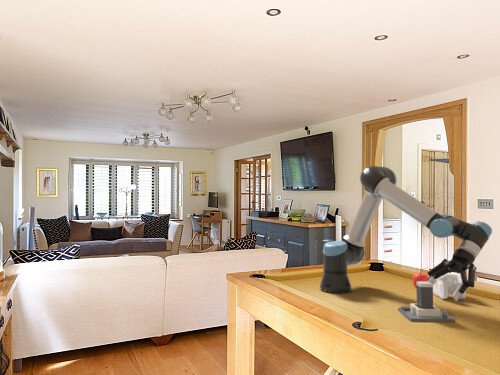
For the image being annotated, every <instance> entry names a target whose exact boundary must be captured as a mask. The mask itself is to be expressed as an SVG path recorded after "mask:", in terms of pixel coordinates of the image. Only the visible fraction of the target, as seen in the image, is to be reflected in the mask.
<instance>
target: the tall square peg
mask: <svg viewBox="0 0 500 375" xmlns="http://www.w3.org/2000/svg"><path fill="white" fill-rule="evenodd" d="M416 283H417V287H416V304H417V307H418V308H419V309H433V305H434V293H433V284H432V283H430V282H428V281H416Z"/></svg>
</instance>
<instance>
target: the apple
mask: <svg viewBox="0 0 500 375" xmlns="http://www.w3.org/2000/svg"><path fill="white" fill-rule="evenodd" d="M428 279H429V275H428V274H427V273H426V274H425V273H422V271H420V272H419V273H418V272H417V273H414V275H413V277H412V283H413V286H414V287H415V288H417V283H416V281H427V280H428Z"/></svg>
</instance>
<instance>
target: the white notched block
mask: <svg viewBox="0 0 500 375" xmlns="http://www.w3.org/2000/svg"><path fill="white" fill-rule="evenodd" d="M435 280H436V282H435V283H434V285H433V295H435V296H437V297H439V298H440V299H441V300H446V299H448V298H449V297H450V295H453V293H454V292H455V290H456V289H457V287H458V285H459V284H460V283H462V279H461V275H460V273H454V272H451V273H447V274H445V275H443V276H441V277H439V278H437V279H435ZM462 284H463V283H462ZM466 297H467V290H466V291H465V292H464V293H463V294H461V296H460V297H459V299H458V300H464V299H466Z"/></svg>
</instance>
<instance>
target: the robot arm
mask: <svg viewBox="0 0 500 375" xmlns="http://www.w3.org/2000/svg"><path fill="white" fill-rule="evenodd" d="M359 181H360V183H361V185H362V186H363V190H364V192H365V193H364V195H363V197H362V200H361V201H360V205H359V206H358V209H357V212H356V214H355V217H354V219H353V222H352V224H351V226H350V229H349V231H348V233H347V234H345V235H344V236H343V238H342V240H334V241H328V242H326V243H324V244H323V249H322V257H323V259H322V263H323V264H322V265H323V268H322V269H323V271H322V272H323V274H322V276H321V280H320V283H319V289H320V288H321V289H322V290H326V291H330V292H329V293H331V292H337V293H336V294H343V292H346V293H350V292H352V284H351V281H350V278H349V276H348V266H352V265H357V264H358V263H360V262H361V261H362V260H363V259H365V258H364V257H365V254H366V251H365V247H366V243H365V240H366V237H367V234H368V233H369V230H370V228H371V225H372V223H373V220H374V218H375V216H376V214H377V212H378V209H379V206H380V204H381V202H382V200H386V201H388V202H389V203H390V204H392V205H394V207H396V208H397V209H399V210H401V211H402V212H404V213H405V214H407V215H408V217H411V218H412V219H414V220H415V221H417V222H418V223H419V224H421V225H422V226H424V227H425V228H427V229H428V230H430V233H431V235H432V236H434V237H437V238H447V237H456V238H458V239H460V240H462V241H461V242H460V243H459V244H458V246H457V248H456V250H455V251H454V253H453V254H452V258H451V259H450V260H448V259H447V258H444V259H442V260H441V262H440V263H438V264H437V265H435V266H434V267H433V268H432V269H430V270H429V271H428V272H427V273H426V275H427V276H428V278H429V279H428V280H427V281H428V282H430V283H432V284H433V285H434V283H435V282H436V280H435V279H437V278H439V277H441V276H443V275H445V274H449V273H451V272H454V273H460V275H461V279H462V283H463V284H462V283H460V284H459V285H458V287H457V289H456V290H455V292H454V293H453V294H451V298H452V299H454V301H455V302H458V301H459V300H460V299H459V297H460V296H461V294H463V293H464V292H465V291H466V292H467V289H468V288H475V281H476V280H475V279H476V277H475V276H476V271H477V266H476V265H475V264H474V262H475V260H476V258H478V256H479V254H480V252H481V251H482V249H483V248H484V246H485V245H486V244H487V242H488V241H489V239H490V237H491V235H492V234H493V229H492V227H491V226H490V225H489V224H487V223H486V222H484V221H478V220H477V221H474V222H473V223H469V222H467V221H464V220H462V219H460V218H457V217H456V216H453V215H449V214H447V213H443V214H442V215H441V214H440V213H439V212H437V211H435V210H434V209H433V208H431V207H430V206H428V205H427V204H425V203H423V202H422V201H420V200H419V199H417V198H416V197H414V196H413V195H411V194H409V193H408V192H406V191H405V190H403V189H402V188H401V187H398V186H397V185H396V184H397V175H396V173H395V172H394V170H392V169H391V168H389V167H387V166H377V165H371V166H370V165H369V166H367V167H365V168H364V169H363V170H362V171H361V173H360V177H359ZM467 270H468V271H467ZM321 289H320V290H321ZM322 290H321V291H322ZM349 291H350V292H349Z"/></svg>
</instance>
